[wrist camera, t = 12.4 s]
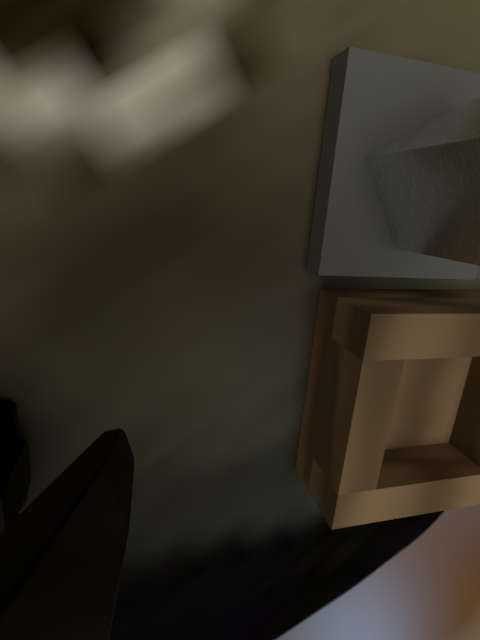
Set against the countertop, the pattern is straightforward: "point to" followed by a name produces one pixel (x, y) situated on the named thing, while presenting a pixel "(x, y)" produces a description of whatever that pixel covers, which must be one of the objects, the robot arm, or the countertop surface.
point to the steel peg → (433, 184)
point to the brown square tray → (392, 404)
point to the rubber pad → (351, 169)
